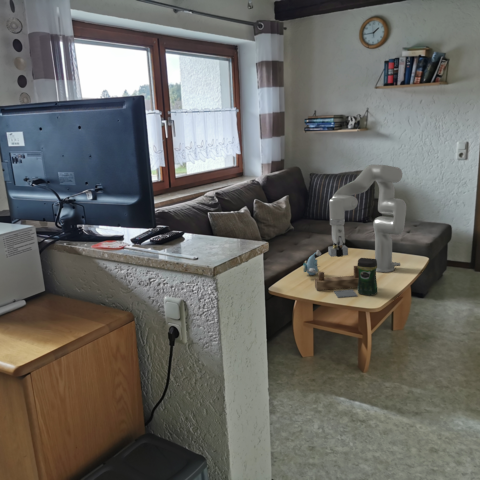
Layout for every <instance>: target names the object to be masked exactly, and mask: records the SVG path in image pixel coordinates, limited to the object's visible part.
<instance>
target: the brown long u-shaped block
mask: <svg viewBox="0 0 480 480" xmlns="http://www.w3.org/2000/svg"><path fill="white" fill-rule="evenodd" d="M317 274H318V278H317V277H316V278H314V287H315V290H316V291H317V292H320V291H322V292H323V291H337V290H350V289H358V280H359V271H358V268H357V265H353V275H345V276H343V275H342V276H331V277H330V276H329V277H325V272H324V271H319V272H318V273H317Z"/></svg>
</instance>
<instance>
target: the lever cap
mask: <svg viewBox="0 0 480 480" xmlns="http://www.w3.org/2000/svg"><path fill="white" fill-rule="evenodd" d="M342 246H343V257H345V256H349V248H348V246H346V244H343V245H342ZM327 247H328V248H327V249H328V251H327V252H328V253H327V254H328V255H329V256H330V257H331V258H332V257H337V252H336V249H337V245H333V244H332V245H331V246H327Z"/></svg>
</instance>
